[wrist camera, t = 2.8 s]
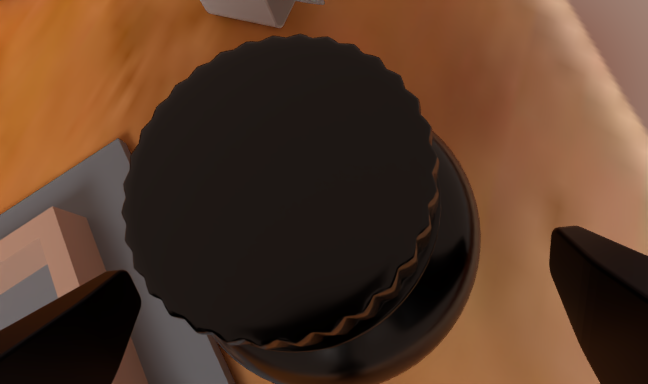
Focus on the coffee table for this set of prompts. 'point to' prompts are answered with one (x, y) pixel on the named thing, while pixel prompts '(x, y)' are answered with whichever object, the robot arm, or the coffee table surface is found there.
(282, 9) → the usb wall charger
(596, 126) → the coffee table surface
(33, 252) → the dock tray
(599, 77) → the coffee table surface
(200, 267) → the supplement bottle
